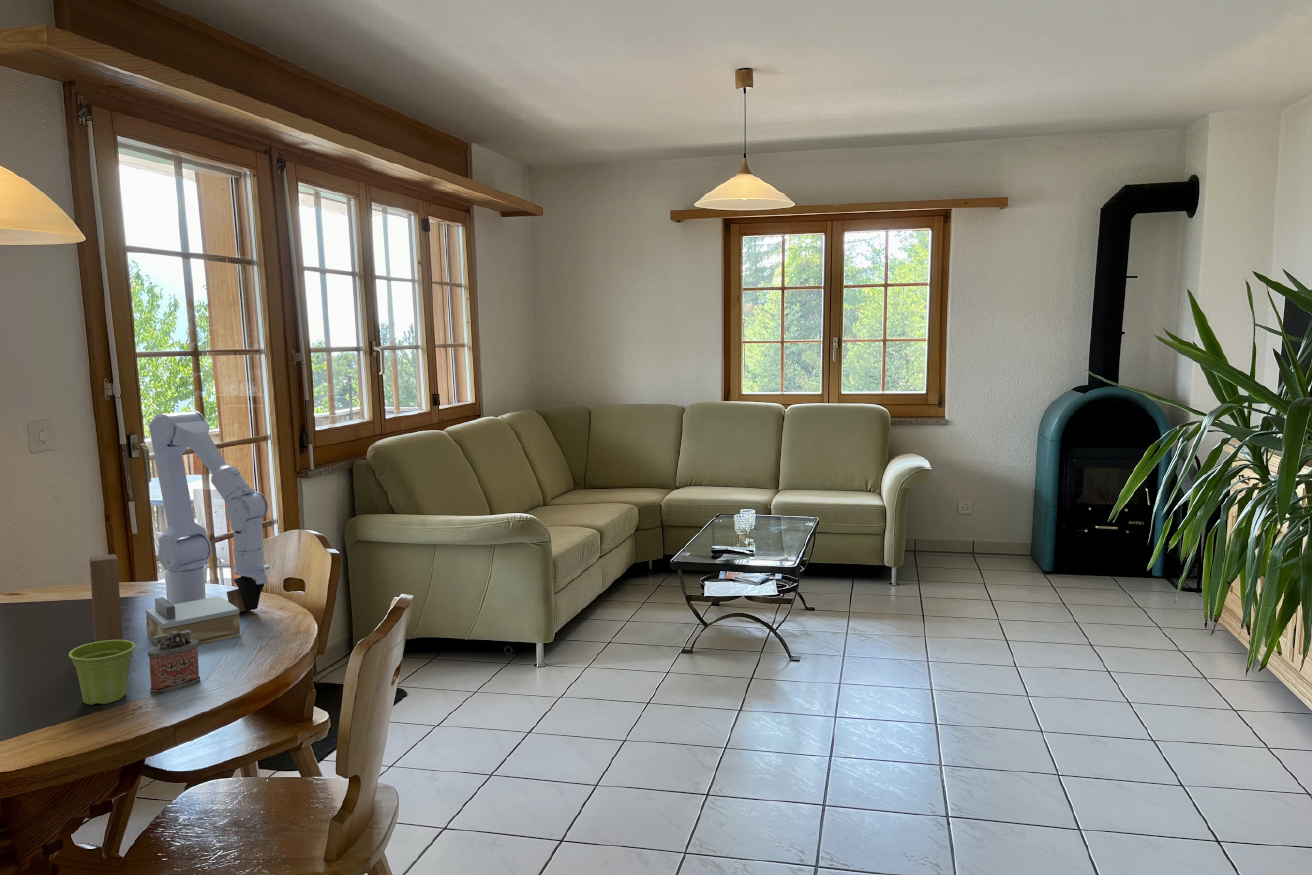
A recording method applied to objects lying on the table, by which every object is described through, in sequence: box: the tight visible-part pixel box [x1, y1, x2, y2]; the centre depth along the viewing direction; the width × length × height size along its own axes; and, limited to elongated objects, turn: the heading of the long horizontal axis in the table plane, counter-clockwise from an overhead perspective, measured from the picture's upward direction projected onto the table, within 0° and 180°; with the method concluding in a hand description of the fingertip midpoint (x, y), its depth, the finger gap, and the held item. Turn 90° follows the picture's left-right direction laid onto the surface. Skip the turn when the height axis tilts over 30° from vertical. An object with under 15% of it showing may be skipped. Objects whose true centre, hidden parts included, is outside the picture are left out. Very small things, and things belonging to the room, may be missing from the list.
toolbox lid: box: [145, 595, 240, 629], centre depth 177 cm, size 12×14×4 cm
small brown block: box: [226, 588, 247, 613], centre depth 193 cm, size 4×4×5 cm
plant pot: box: [68, 639, 136, 706], centre depth 147 cm, size 9×9×9 cm
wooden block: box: [89, 553, 123, 642], centre depth 173 cm, size 9×4×18 cm, turn 34°
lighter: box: [147, 630, 201, 696], centre depth 152 cm, size 8×3×10 cm, turn 141°
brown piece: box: [145, 613, 241, 647], centre depth 178 cm, size 12×14×4 cm
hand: (251, 609), depth 192 cm, fingers closed
